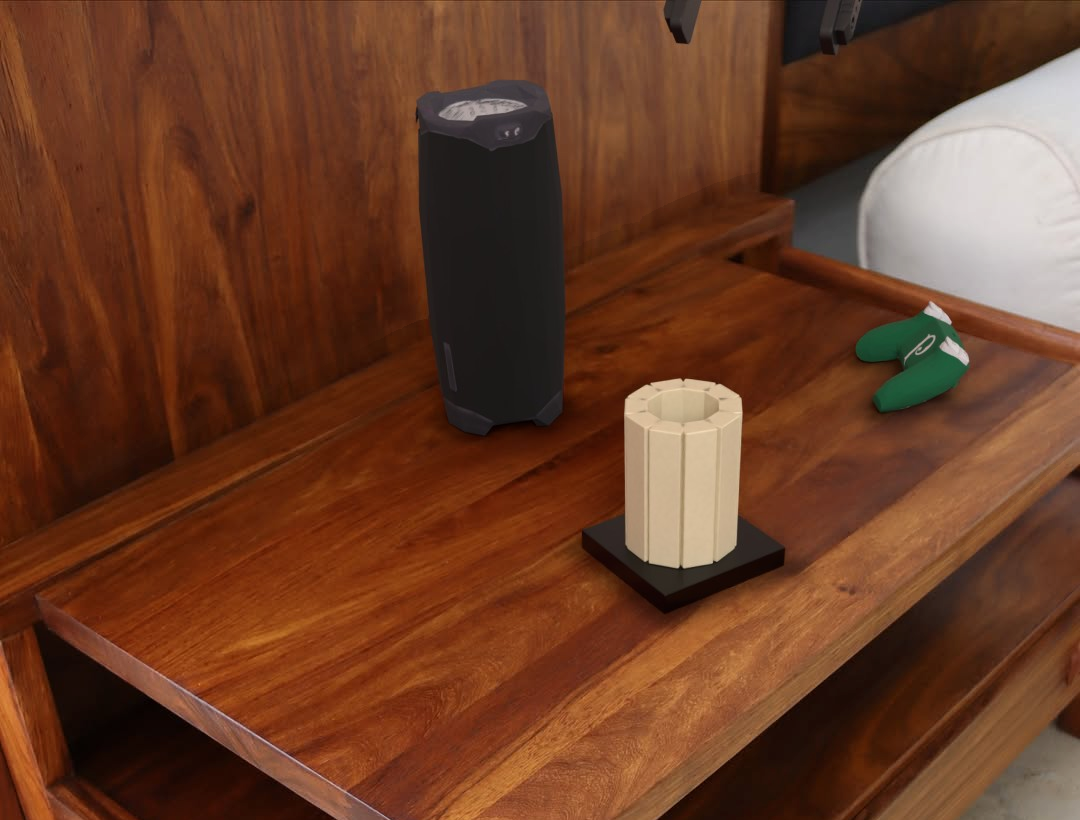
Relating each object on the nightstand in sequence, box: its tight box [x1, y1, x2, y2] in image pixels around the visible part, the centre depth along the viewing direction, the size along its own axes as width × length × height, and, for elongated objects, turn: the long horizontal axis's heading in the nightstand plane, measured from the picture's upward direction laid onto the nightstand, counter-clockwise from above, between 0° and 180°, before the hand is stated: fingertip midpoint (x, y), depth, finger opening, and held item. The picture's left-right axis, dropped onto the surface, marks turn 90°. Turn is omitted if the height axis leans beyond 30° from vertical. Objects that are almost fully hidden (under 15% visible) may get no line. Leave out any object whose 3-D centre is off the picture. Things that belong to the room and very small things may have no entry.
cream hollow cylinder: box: [623, 378, 743, 568], centre depth 77 cm, size 6×6×8 cm
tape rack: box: [581, 513, 786, 615], centre depth 78 cm, size 8×8×7 cm
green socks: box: [855, 300, 970, 413], centre depth 94 cm, size 9×4×6 cm
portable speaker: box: [414, 79, 566, 437], centre depth 89 cm, size 9×9×20 cm
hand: (752, 41), depth 80 cm, fingers open, 8 cm apart
